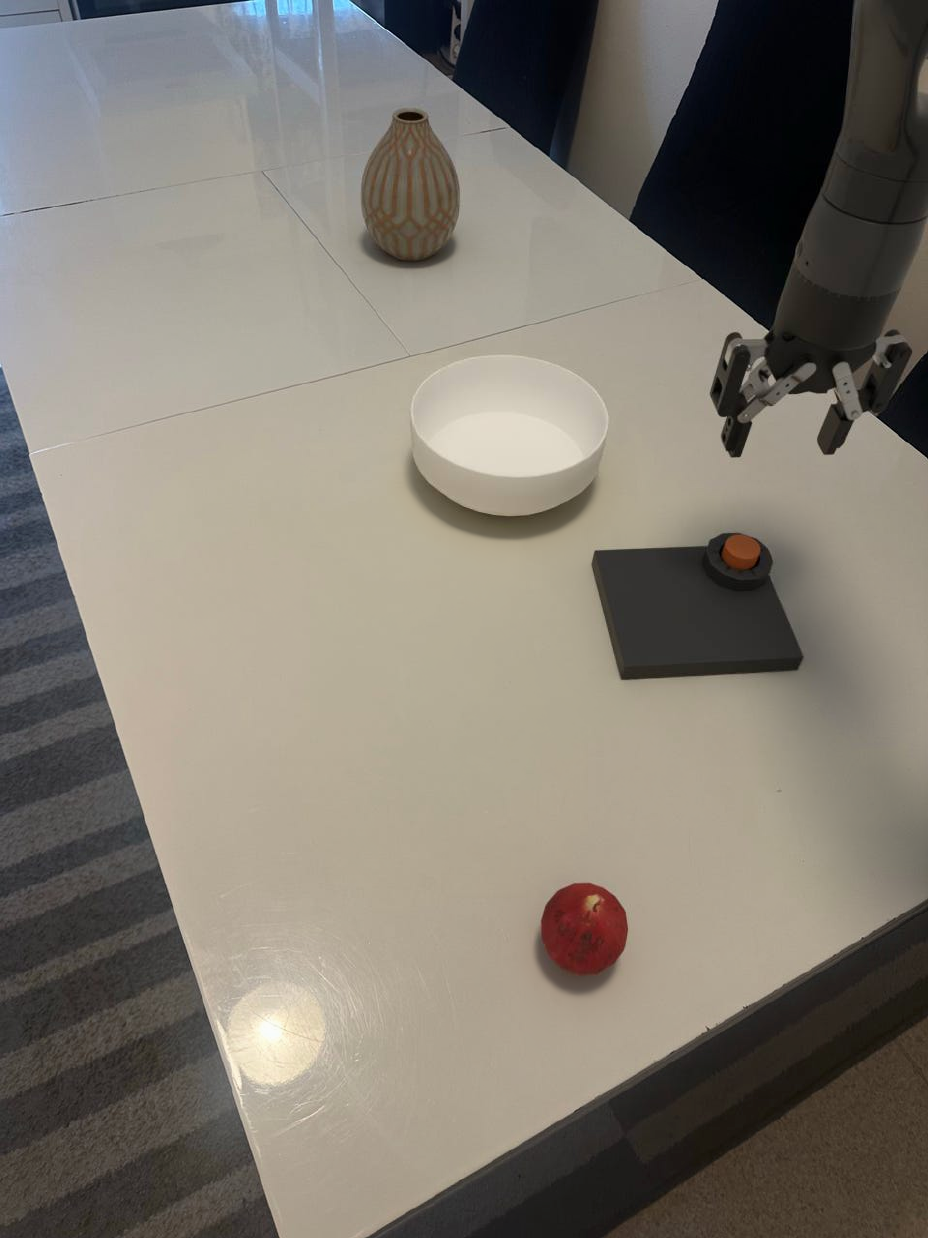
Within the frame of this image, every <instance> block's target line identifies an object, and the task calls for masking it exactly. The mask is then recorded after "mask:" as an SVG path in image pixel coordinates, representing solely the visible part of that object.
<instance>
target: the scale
mask: <svg viewBox="0 0 928 1238" xmlns="http://www.w3.org/2000/svg"><path fill="white" fill-rule="evenodd" d="M733 535H745V536H749V537H751V538H753V539H754V540H755V541H756V542H757V543H758V544H759V546H760V554H759V556H758V559H757V561H756V564H755V565H754V567H752V568H751V569H748V570H737V569H734V568H731V567H729V566H728V565H727V564H726V563H725V562H724V561H723V559H722V551H723V548H724V546H725V543H726V540H727V539H728V538H729V537H731V536H733ZM773 564H774V558H773V556H772V554H771V551H770V549H769V548H768V547H767V546H766V545H765V544H764V543H762V541H760V540H758V539H757V537H754V536H751V535H747V534H744V533H742V532H723V533H720V534H718V535H716V536H715V537H713V538H712V539H709V541H708V544H707V545H697V546H670V547H646V548H645V547H644V548H620V549H619V548H618V549H617V548H616V549H595V550H593V555H592V560H591V567H592V571H593V575H594V579H595V583H596V586H597V591H598V594H599V595H598V596H599V598H600V599H599V600H600V602H601V606H602V610H603V614H604V618H605V623H606V627H607V629H608V634H609V638H610V641H611V645H612V649H613V653H614V657H615V661H616V665H617V668H618V672H619V676H620V679H621V680H638V679H657V678H658V679H659V678H676V677H677V678H678V677H693V676H694V677H696V676H714V675H731V674H749V673H767V672H769V673H771V672H786V671H788V672H790V671H798V669H799V667H800V666H801V663H802V662H803V660H804V658H805V656H804V654H803V652H802V649H801V647H800V644H799V643H798V640H797V638H796V635H795V632H794V630H793V628H792V625H791V623H790V620H789V619H788V616H787V613H786V612H785V608H784V607H783V604H782V602H781V600H780V598H779V595H778V593H777V590H776V588H775V585H774V583H773V581H772V578H771V576H770V573H771V570H772V567H773Z"/></svg>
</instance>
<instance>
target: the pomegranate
mask: <svg viewBox="0 0 928 1238" xmlns="http://www.w3.org/2000/svg"><path fill="white" fill-rule="evenodd" d="M540 927H541V928H540V929H541V941H542V943H543V946H544V948H545V951H546V952H547V955H548V956H549V958H550V959H551V960H552V961H554V963H555V964H556V965H557V966H559V968H560V969H561V970H564V971H567V972H568V973H571V974H574V975H577V976H591V975H599V974H600V973H601V972H603V971H605V970H607V968H609V967H611V966H613V965H615V964H616V962H617V961H618V959H619V958H620V956H621V955H622V953H624V951H625V948H626V946H627V939H628V933H629V925H628V917H627V911H626V910H625V908H624V906H623V905H622V904H621V902H620V900H619V899H618V898H617V896H616V895H614V894H613V893H612V892H610V891H609V890H607V889H606V888H605V887H604V886H600V885H598V884H594V883H591V882H574V883H571V884H569V885H567V886H564V887H561V888H560V889H557V890H556V892H554V894H553V895H552V896H551V897H550V899H549V900H548V901H547V902H546V904H545V906H544V909H543V912H542V916H541V919H540Z"/></svg>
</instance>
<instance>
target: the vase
mask: <svg viewBox="0 0 928 1238" xmlns="http://www.w3.org/2000/svg"><path fill="white" fill-rule="evenodd" d="M391 116H392V117H391V118H392V119H391V122H390V124H389V127H388V129H387V130H386V132H385V133H384V134H383V136H382V137H381V138H380V140H379V141H378V143H377V144H376V145H375V147H374V149H373V150H372V152H371V153H370V155H369V157H368V160H367V162H366V164H365V167H364V170H363V174H362V177H361V183H360V206H361V212H362V218H363V220H364V224H365V227H366V229H367V231H368V233H369V234H370V236H371V238H372V239H373V241H374V242H375V244H377V246H379V247H380V248H381V249H382V250H383V251H384V252H386V253H387V254H388V255H389V256H391V257H393V258H395V259H398V260H401V261H405V262H406V261H407V262H417V261H418V262H419V261H423V260H425V259H428V258H430V257H431V256H433V255H434V254H435V253H437V252H438V251H440V250H441V249H442V248H444V246H445V245H446V244H447V243H448V241H449V239H450V238H451V236H452V235H453V232H454V230H455V228H456V226H457V223H458V220H459V216H460V208H461V207H460V206H461V187H460V182H459V177H458V174H457V173H458V172H457V169H456V167H455V165H454V162H453V160H452V157H451V156H450V154H449V152H448V151H447V150H446V147H445V146H444V145H443V143H442V142H441V140H440V138H438V136H437V134H435V132H434V130H433V128H432V126H431V123H430V121H429V114H428V113H427V112H426V111H425V110H423V109H420V108H416V107H404V108H398V109H396V110H394V111H393V113H392V115H391Z"/></svg>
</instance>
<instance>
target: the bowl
mask: <svg viewBox="0 0 928 1238" xmlns="http://www.w3.org/2000/svg"><path fill="white" fill-rule="evenodd" d="M609 429H610V418H609V412H608V409H607V407H606V404H605V401H604V400H603V398H602V397H601V396H600V394H599V393H598V392H597V390H596V389H595V388H594V387H593V386H592V385H591V384H589V382H588V381H586V379H584V378H582V377H581V376H579V375H577V374H576V373H575V372H573V371H571V370H569V369H568V368H565V367H563V366H560V365H558V364H556V363H553V362H551V361H546V360H542V359H540V358H535V357H530V356H529V357H528V356H524V355H516V354H515V355H513V354H490V355H489V354H488V355H487V354H486V355H479V356H475V357H474V356H473V357H468V358H464V359H461V360H457V361H454V362H451V363H449V364H448V365H445V366H443V367H441V368H439V369H437V370H435V372H432V374H430V375H429V376H428V377H426V378H425V379H424V381H422V383H421V384H419V386H418V387H417V389H416V390H415V392H414V394H413V397H412V399H411V400H410V408H409V433H410V443H411V450H412V451H411V452H412V457H413V461H414V464H415V465H416V467H417V469H418V472H419V473H420V474H421V476H422V477H424V479H425V480H426V481H427V482H428V483H429V485H431V486H432V487H433V488H435V489H436V490H437V491H438V492H440V493H441V494H443V496H446V497H447V498H448V499H449V500H450V501H453V502H455V503H456V504H458V505H460V506H462V507H464V508H467V509H470V510H472V511H475V512H479V513H483V514H487V515H488V514H489V515H493V516H505V517H517V516H518V517H519V516H529V515H533V514H534V515H535V514H538V513H539V514H540V513H543V512H545V511H548V510H551V509H554V508H556V507H558V506H559V505H562V504H564V503H566V502H569V501H570V500H571V499H573V498H575V497H576V496H578V495H580V494H581V493H582V492H584V490H585V489H586V488H588V486H589V485H590V484H591V483H592V482H593V481H594V479H595V477H596V475H597V473H598V471H599V468H600V464H601V461H602V458H603V454H604V450H605V447H606V442H607V438H608V433H609Z"/></svg>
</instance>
